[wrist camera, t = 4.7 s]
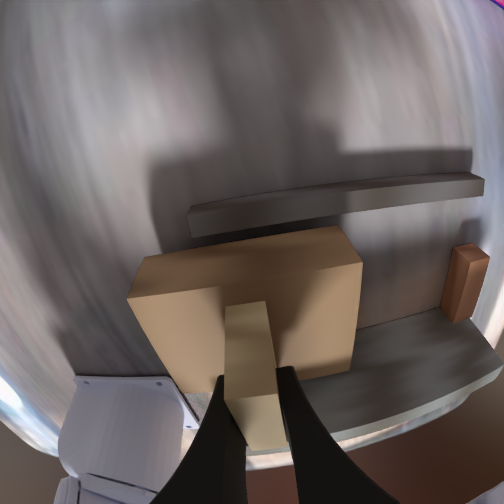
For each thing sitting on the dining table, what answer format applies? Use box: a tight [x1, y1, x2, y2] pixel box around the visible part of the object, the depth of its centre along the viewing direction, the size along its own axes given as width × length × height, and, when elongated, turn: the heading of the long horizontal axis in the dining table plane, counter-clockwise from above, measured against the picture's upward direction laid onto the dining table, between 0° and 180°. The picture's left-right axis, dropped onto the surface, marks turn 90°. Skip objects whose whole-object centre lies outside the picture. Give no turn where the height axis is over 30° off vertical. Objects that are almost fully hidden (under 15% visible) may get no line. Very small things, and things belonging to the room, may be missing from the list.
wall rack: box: [187, 172, 504, 456], centre depth 13 cm, size 18×12×7 cm, turn 99°
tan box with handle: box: [127, 225, 363, 451], centre depth 12 cm, size 9×7×7 cm
